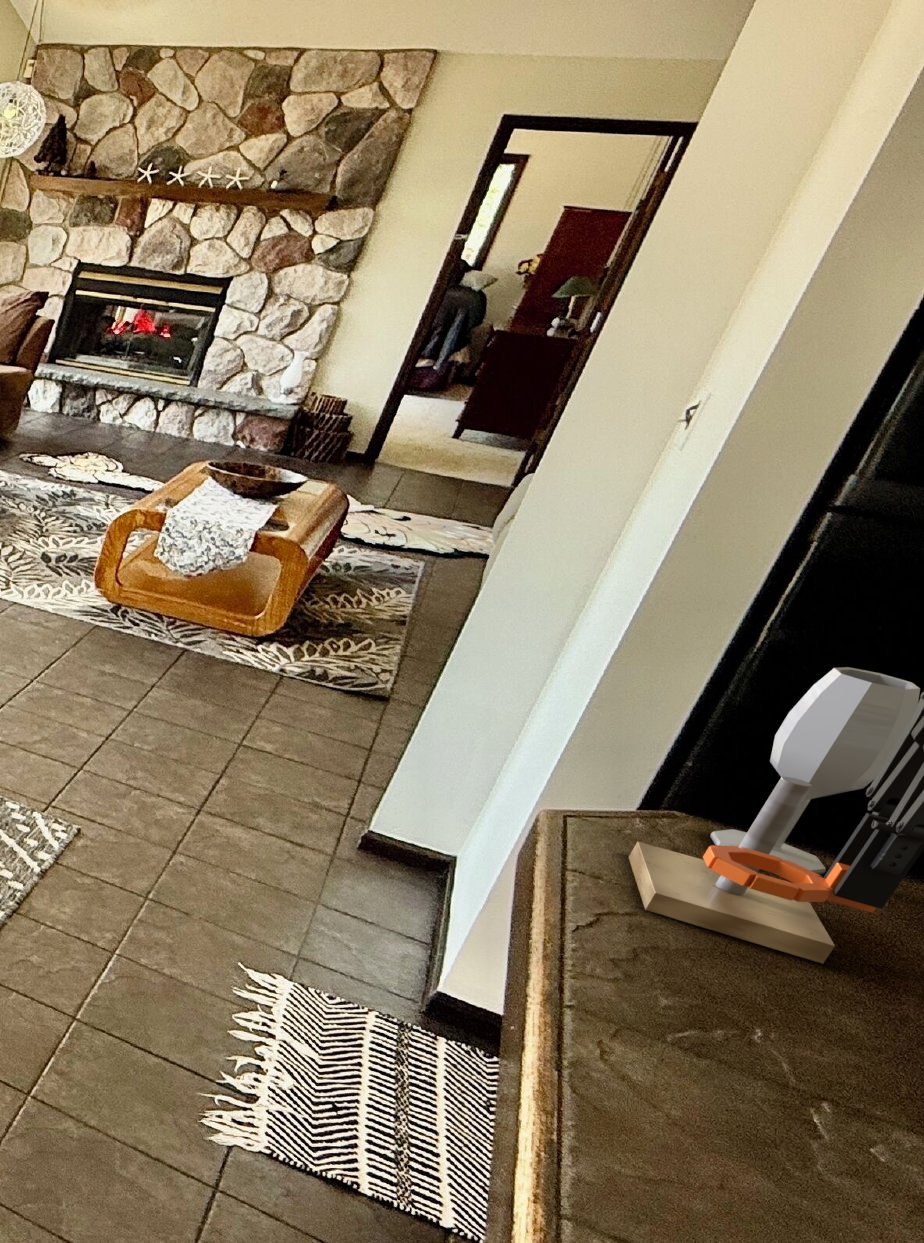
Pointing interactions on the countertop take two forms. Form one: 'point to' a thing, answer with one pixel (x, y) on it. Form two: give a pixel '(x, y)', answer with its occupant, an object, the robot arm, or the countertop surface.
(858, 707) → the wineglass
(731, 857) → the ring
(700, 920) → the board
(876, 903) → the robot arm
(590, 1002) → the countertop surface
